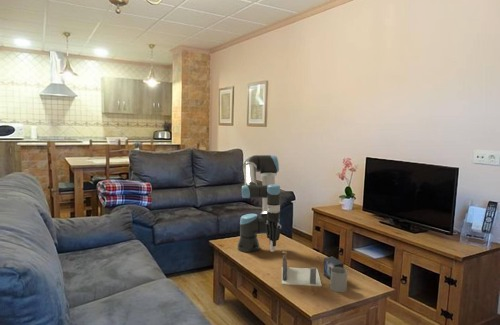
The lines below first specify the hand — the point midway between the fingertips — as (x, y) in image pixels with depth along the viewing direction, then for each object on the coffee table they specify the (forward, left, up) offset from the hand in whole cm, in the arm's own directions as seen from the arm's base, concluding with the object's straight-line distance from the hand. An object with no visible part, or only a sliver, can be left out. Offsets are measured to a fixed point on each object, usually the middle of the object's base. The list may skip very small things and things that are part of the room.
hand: (272, 251), depth 206 cm
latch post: (+16, +22, -12) cm, 30 cm away
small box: (+8, +34, -12) cm, 37 cm away
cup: (+20, +35, -12) cm, 42 cm away
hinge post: (+14, +7, -12) cm, 19 cm away
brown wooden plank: (+4, +7, -11) cm, 13 cm away
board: (+8, +16, -12) cm, 21 cm away
